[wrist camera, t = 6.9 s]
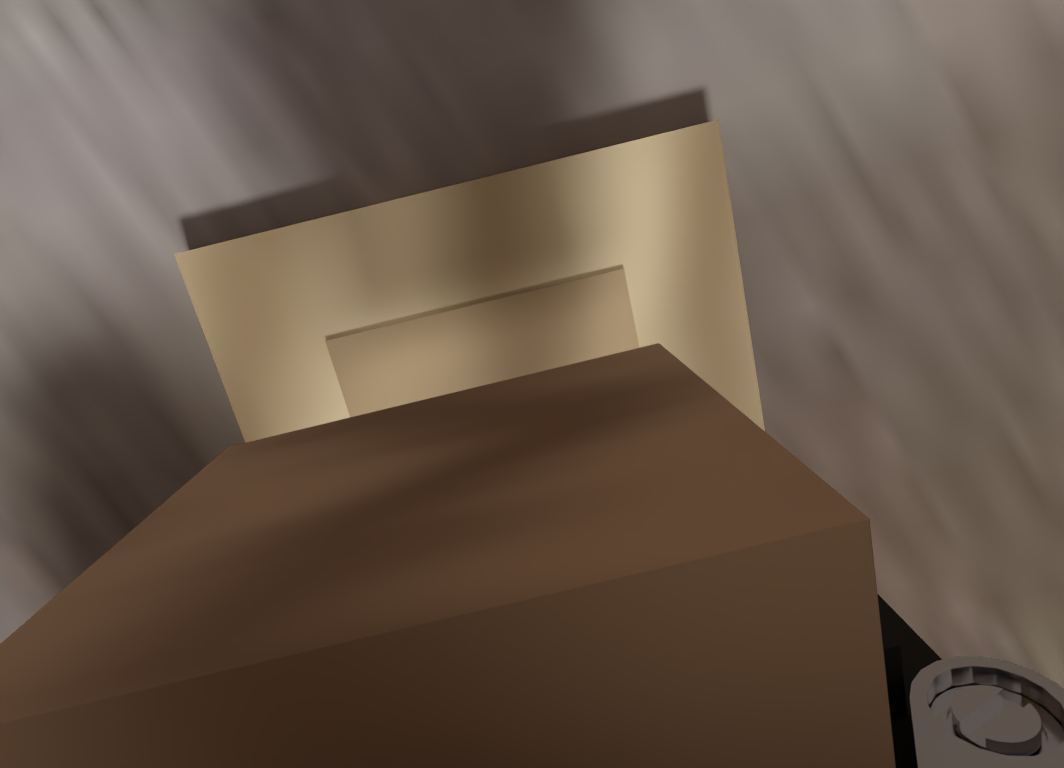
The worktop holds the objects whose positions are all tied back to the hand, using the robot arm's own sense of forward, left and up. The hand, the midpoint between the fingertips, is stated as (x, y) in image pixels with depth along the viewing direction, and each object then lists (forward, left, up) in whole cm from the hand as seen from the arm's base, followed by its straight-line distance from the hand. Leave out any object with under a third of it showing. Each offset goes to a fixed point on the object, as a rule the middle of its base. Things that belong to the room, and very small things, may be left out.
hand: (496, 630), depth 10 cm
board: (0, 0, -9) cm, 9 cm away
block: (0, 0, -1) cm, 1 cm away
